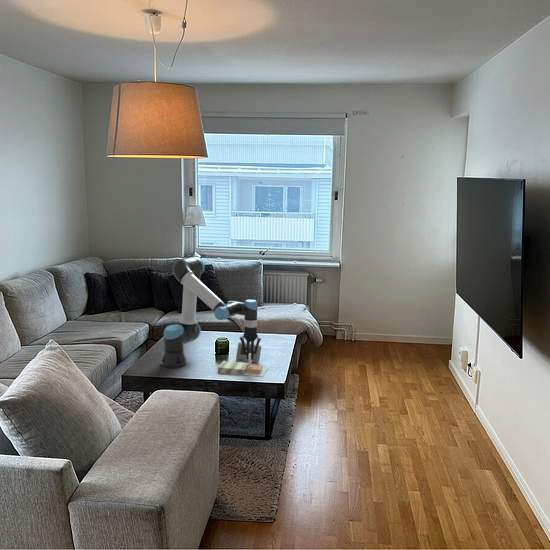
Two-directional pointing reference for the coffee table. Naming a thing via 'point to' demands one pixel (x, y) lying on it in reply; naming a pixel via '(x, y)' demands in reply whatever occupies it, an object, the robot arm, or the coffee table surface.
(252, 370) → the terracotta tile
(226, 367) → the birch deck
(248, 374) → the sage mat
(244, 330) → the robot arm
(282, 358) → the coffee table surface
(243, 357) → the digital clock
